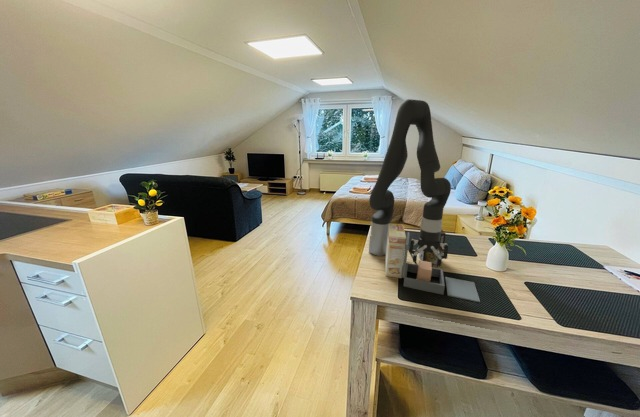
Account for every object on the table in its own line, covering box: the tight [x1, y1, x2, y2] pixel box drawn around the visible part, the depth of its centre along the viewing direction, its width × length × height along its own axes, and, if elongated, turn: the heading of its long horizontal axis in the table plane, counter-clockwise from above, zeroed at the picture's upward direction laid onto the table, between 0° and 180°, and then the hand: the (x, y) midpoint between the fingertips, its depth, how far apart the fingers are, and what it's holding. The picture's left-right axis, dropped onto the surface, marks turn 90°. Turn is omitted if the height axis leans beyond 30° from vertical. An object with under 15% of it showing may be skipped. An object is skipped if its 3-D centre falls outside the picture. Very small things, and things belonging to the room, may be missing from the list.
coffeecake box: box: [384, 223, 407, 279], centre depth 113 cm, size 15×7×20 cm, turn 166°
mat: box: [444, 276, 481, 303], centre depth 101 cm, size 11×13×1 cm
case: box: [401, 231, 446, 296], centre depth 103 cm, size 16×13×19 cm
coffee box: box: [418, 228, 447, 265], centre depth 120 cm, size 9×6×16 cm
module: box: [416, 259, 432, 282], centre depth 105 cm, size 5×7×8 cm
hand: (426, 264), depth 103 cm, fingers open, 8 cm apart
